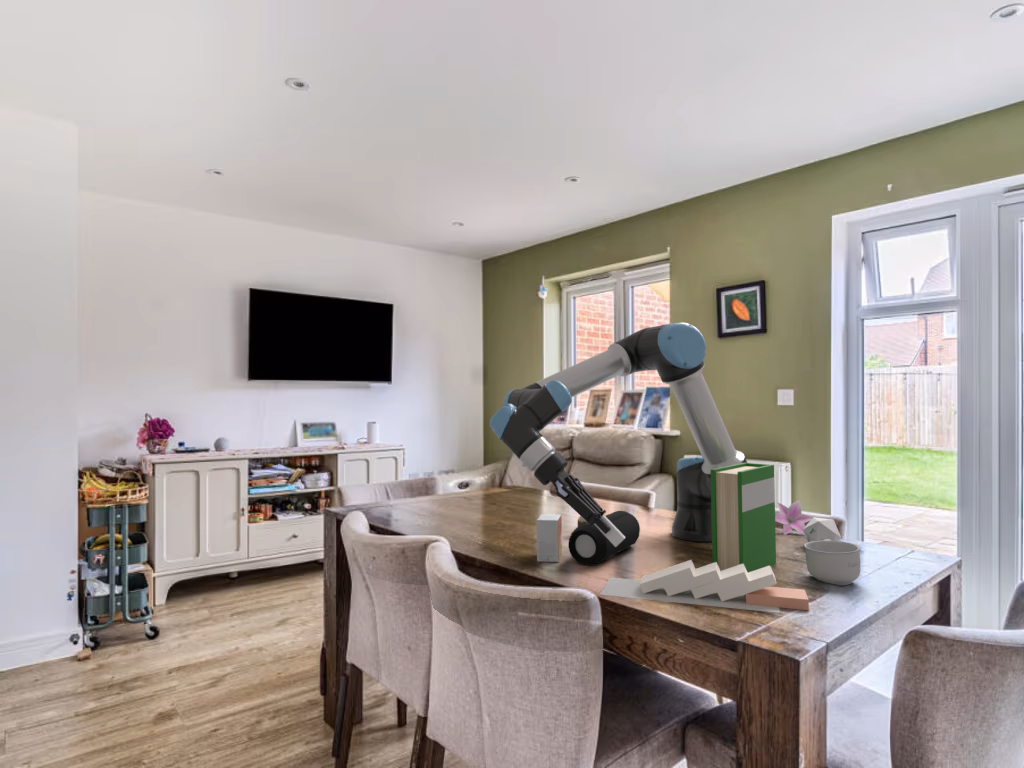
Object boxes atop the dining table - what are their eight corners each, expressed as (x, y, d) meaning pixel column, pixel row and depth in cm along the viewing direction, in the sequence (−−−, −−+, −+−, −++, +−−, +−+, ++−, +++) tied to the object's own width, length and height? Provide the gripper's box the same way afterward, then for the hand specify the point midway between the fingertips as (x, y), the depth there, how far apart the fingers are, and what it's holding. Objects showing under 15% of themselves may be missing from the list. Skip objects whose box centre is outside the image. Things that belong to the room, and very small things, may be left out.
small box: (558, 562, 148) (558, 520, 148) (536, 562, 149) (535, 519, 149) (562, 554, 155) (561, 514, 156) (541, 553, 157) (540, 513, 157)
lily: (763, 535, 178) (769, 512, 173) (773, 515, 185) (779, 493, 181) (802, 551, 172) (810, 527, 168) (810, 530, 180) (818, 507, 176)
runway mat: (600, 596, 122) (599, 594, 122) (610, 579, 134) (610, 577, 134) (780, 615, 111) (780, 612, 111) (775, 594, 122) (775, 592, 122)
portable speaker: (610, 543, 167) (609, 507, 167) (643, 547, 162) (642, 510, 162) (565, 565, 146) (564, 524, 146) (602, 571, 141) (601, 529, 141)
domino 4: (717, 591, 118) (772, 573, 114) (717, 582, 123) (769, 565, 120) (721, 601, 117) (776, 583, 114) (721, 591, 123) (774, 574, 120)
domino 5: (746, 593, 116) (808, 599, 112) (745, 584, 121) (804, 589, 118) (746, 604, 116) (808, 610, 112) (745, 594, 121) (804, 599, 118)
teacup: (860, 592, 123) (859, 553, 123) (802, 584, 129) (801, 547, 129) (862, 574, 135) (861, 539, 135) (809, 568, 141) (808, 534, 141)
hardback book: (743, 580, 132) (741, 472, 133) (712, 573, 138) (710, 469, 138) (776, 563, 145) (774, 464, 145) (746, 557, 150) (744, 462, 150)
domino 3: (690, 589, 119) (744, 571, 116) (692, 580, 125) (743, 563, 122) (695, 599, 119) (748, 581, 116) (696, 589, 125) (747, 572, 121)
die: (801, 545, 164) (793, 521, 160) (827, 529, 165) (820, 504, 160) (823, 563, 156) (816, 538, 152) (850, 546, 157) (843, 521, 153)
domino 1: (639, 584, 123) (689, 567, 119) (642, 575, 128) (691, 559, 125) (643, 593, 122) (694, 577, 119) (646, 584, 128) (695, 568, 125)
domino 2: (663, 586, 121) (716, 569, 118) (666, 578, 127) (716, 561, 123) (668, 596, 121) (720, 579, 117) (670, 587, 126) (720, 571, 123)
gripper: (541, 469, 140) (613, 546, 134) (524, 477, 127) (602, 561, 122) (563, 447, 138) (636, 524, 132) (547, 453, 126) (628, 537, 120)
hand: (620, 542), depth 127 cm, fingers closed
